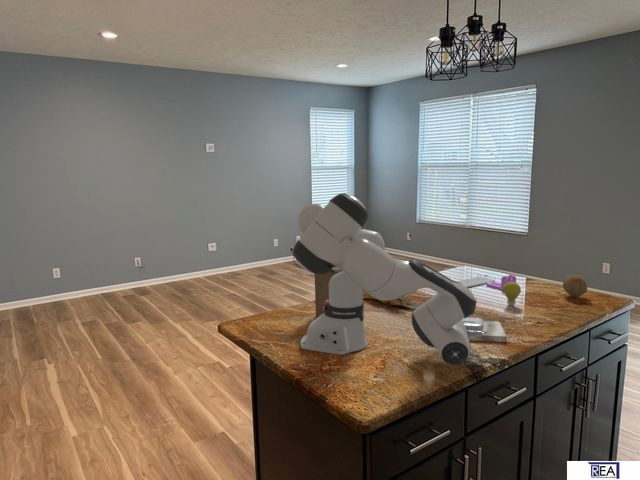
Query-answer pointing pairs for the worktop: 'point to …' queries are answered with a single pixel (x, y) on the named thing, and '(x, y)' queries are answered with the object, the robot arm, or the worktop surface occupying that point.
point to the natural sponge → (575, 286)
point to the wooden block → (323, 289)
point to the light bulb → (511, 292)
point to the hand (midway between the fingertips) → (448, 316)
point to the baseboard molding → (475, 281)
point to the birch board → (491, 333)
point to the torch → (397, 300)
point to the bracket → (502, 282)
